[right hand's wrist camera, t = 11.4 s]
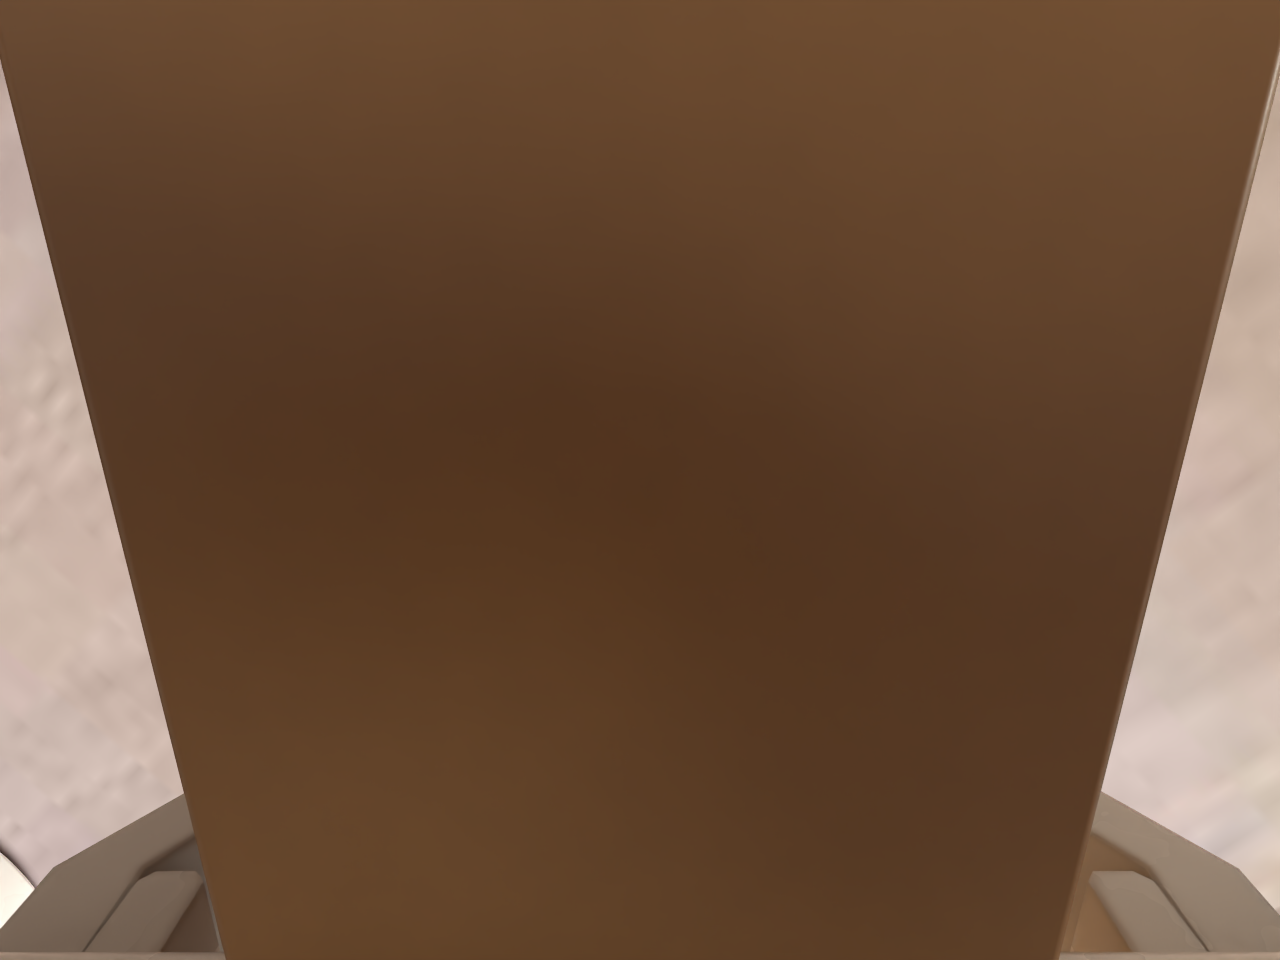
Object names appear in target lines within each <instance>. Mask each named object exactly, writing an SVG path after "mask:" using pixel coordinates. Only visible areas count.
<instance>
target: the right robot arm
mask: <svg viewBox="0 0 1280 960" xmlns="http://www.w3.org/2000/svg"><path fill="white" fill-rule="evenodd" d="M0 960H226V958H225V954H224V950H223V946H222V942H221V938H220V934H219V930H218V926H217V922H216V918H215V914H214V910H213V906H212V902H211V898H210V895H209V891H208V887H207V883H206V879H205V875H204V871H203V867H202V863H201V859H200V855H199V851H198V847H197V843H196V839H195V835H194V831H193V827H192V823H191V819H190V815H189V811H188V807H187V803H186V799H185V795H184V794H182V795H181V796H179V797H177V798H175V799H174V800H172V801H170V802H168V803H166V804H165V805H163V806H161V807H159V808H158V809H156V810H154V811H152V812H151V813H149V814H147V815H145V816H144V817H142V818H140V819H138V820H136V821H135V822H133V823H131V824H129V825H128V826H126V827H124V828H122V829H121V830H119V831H117V832H115V833H113V834H112V835H110V836H108V837H106V838H105V839H103V840H101V841H99V842H98V843H96V844H94V845H92V846H91V847H89V848H87V849H85V850H83V851H82V852H80V853H78V854H76V855H75V856H73V857H71V858H69V859H68V860H66V861H64V862H62V863H61V864H59V865H57V866H55V867H53V869H52V870H51V871H50V872H49V873H48V874H47V876H46V877H45V878H44V879H43V880H42V881H41V882H40V884H39V885H38V886H37V887H36V888H34V887H33V886H32V884H31V883H30V882H29V881H28V879H27V878H26V877H25V876H24V875H23V874H22V873H21V872H20V871H19V869H18V868H17V867H16V866H15V865H14V864H13V863H12V862H10V861H9V860H8V859H7V858H6V857H5V856H4V855H3V854H2V853H1V852H0ZM1059 960H1280V915H1279V914H1278V913H1277V912H1276V911H1275V910H1274V908H1273V907H1272V906H1271V905H1270V904H1269V903H1268V902H1267V900H1266V899H1265V898H1264V897H1263V896H1262V895H1261V894H1260V892H1259V891H1258V890H1257V889H1256V888H1255V887H1254V886H1253V884H1252V883H1251V882H1250V881H1249V880H1248V879H1247V878H1246V876H1245V875H1244V874H1243V873H1242V872H1241V871H1240V870H1239V869H1238V868H1236V867H1235V866H1233V865H1231V864H1229V863H1228V862H1226V861H1224V860H1222V859H1220V858H1219V857H1217V856H1215V855H1213V854H1212V853H1210V852H1208V851H1206V850H1204V849H1203V848H1201V847H1199V846H1197V845H1196V844H1194V843H1192V842H1190V841H1188V840H1187V839H1185V838H1183V837H1181V836H1180V835H1178V834H1176V833H1174V832H1172V831H1171V830H1169V829H1167V828H1165V827H1164V826H1162V825H1160V824H1158V823H1157V822H1155V821H1153V820H1151V819H1149V818H1148V817H1146V816H1144V815H1142V814H1141V813H1139V812H1137V811H1135V810H1133V809H1132V808H1130V807H1128V806H1126V805H1125V804H1123V803H1121V802H1119V801H1117V800H1116V799H1114V798H1112V797H1110V796H1109V795H1107V794H1105V793H1103V792H1100V796H1099V800H1098V804H1097V808H1096V812H1095V816H1094V820H1093V824H1092V828H1091V832H1090V836H1089V840H1088V844H1087V848H1086V852H1085V856H1084V860H1083V864H1082V868H1081V872H1080V876H1079V880H1078V884H1077V888H1076V892H1075V896H1074V900H1073V904H1072V908H1071V912H1070V916H1069V920H1068V924H1067V928H1066V932H1065V936H1064V940H1063V944H1062V948H1061V952H1060V956H1059Z"/></svg>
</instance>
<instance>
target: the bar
mask: <svg viewBox="0 0 1280 960" xmlns="http://www.w3.org/2000/svg"><path fill="white" fill-rule="evenodd" d="M0 60H1V64H2V68H3V72H4V76H5V80H6V84H7V88H8V92H9V96H10V100H11V104H12V108H13V112H14V116H15V120H16V124H17V128H18V132H19V136H20V140H21V143H22V147H23V151H24V155H25V159H26V163H27V167H28V171H29V175H30V179H31V183H32V187H33V191H34V195H35V199H36V203H37V207H38V211H39V215H40V219H41V223H42V227H43V231H44V235H45V239H46V243H47V247H48V251H49V255H50V259H51V263H52V267H53V271H54V275H55V279H56V283H57V287H58V291H59V295H60V299H61V303H62V307H63V311H64V315H65V319H66V323H67V327H68V331H69V335H70V339H71V343H72V347H73V351H74V355H75V359H76V363H77V367H78V371H79V375H80V379H81V383H82V387H83V391H84V395H85V399H86V403H87V407H88V411H89V415H90V419H91V423H92V427H93V431H94V435H95V439H96V443H97V447H98V451H99V455H100V459H101V463H102V467H103V471H104V475H105V479H106V483H107V487H108V491H109V495H110V499H111V503H112V507H113V511H114V515H115V519H116V523H117V527H118V531H119V535H120V539H121V543H122V547H123V551H124V555H125V559H126V563H127V567H128V571H129V575H130V579H131V583H132V587H133V591H134V595H135V599H136V603H137V607H138V611H139V615H140V619H141V623H142V627H143V631H144V635H145V639H146V643H147V647H148V651H149V655H150V659H151V663H152V667H153V671H154V675H155V679H156V683H157V687H158V691H159V695H160V699H161V703H162V707H163V711H164V715H165V719H166V723H167V727H168V731H169V735H170V739H171V743H172V747H173V751H174V755H175V759H176V763H177V767H178V771H179V775H180V779H181V783H182V787H183V791H184V795H185V799H186V803H187V807H188V811H189V815H190V819H191V823H192V827H193V831H194V835H195V839H196V843H197V847H198V851H199V855H200V859H201V863H202V867H203V871H204V875H205V879H206V883H207V887H208V891H209V895H210V898H211V902H212V906H213V910H214V914H215V918H216V922H217V926H218V930H219V934H220V938H221V942H222V946H223V950H224V954H225V958H226V960H1059V956H1060V952H1061V948H1062V944H1063V940H1064V936H1065V932H1066V928H1067V924H1068V920H1069V916H1070V912H1071V908H1072V904H1073V900H1074V896H1075V892H1076V888H1077V884H1078V880H1079V876H1080V872H1081V868H1082V864H1083V860H1084V856H1085V852H1086V848H1087V844H1088V840H1089V836H1090V832H1091V828H1092V824H1093V820H1094V816H1095V812H1096V808H1097V804H1098V800H1099V796H1100V792H1101V788H1102V784H1103V780H1104V776H1105V772H1106V768H1107V764H1108V760H1109V756H1110V752H1111V748H1112V744H1113V740H1114V736H1115V732H1116V728H1117V724H1118V720H1119V716H1120V712H1121V708H1122V704H1123V700H1124V696H1125V692H1126V688H1127V684H1128V680H1129V676H1130V672H1131V668H1132V664H1133V660H1134V656H1135V652H1136V648H1137V644H1138V640H1139V636H1140V632H1141V628H1142V624H1143V620H1144V616H1145V612H1146V608H1147V604H1148V600H1149V596H1150V592H1151V588H1152V584H1153V580H1154V576H1155V572H1156V568H1157V564H1158V560H1159V556H1160V552H1161V548H1162V544H1163V540H1164V536H1165V532H1166V528H1167V524H1168V520H1169V516H1170V512H1171V508H1172V504H1173V500H1174V496H1175V492H1176V488H1177V484H1178V480H1179V476H1180V472H1181V468H1182V464H1183V460H1184V456H1185V452H1186V448H1187V444H1188V440H1189V436H1190V432H1191V428H1192V424H1193V420H1194V416H1195V412H1196V408H1197V404H1198V400H1199V396H1200V392H1201V388H1202V384H1203V380H1204V376H1205V372H1206V368H1207V364H1208V360H1209V356H1210V352H1211V348H1212V344H1213V340H1214V336H1215V332H1216V328H1217V324H1218V320H1219V316H1220V312H1221V308H1222V304H1223V300H1224V296H1225V292H1226V288H1227V284H1228V280H1229V276H1230V272H1231V268H1232V264H1233V260H1234V256H1235V252H1236V248H1237V244H1238V240H1239V236H1240V232H1241V228H1242V224H1243V220H1244V216H1245V212H1246V208H1247V204H1248V199H1249V195H1250V191H1251V187H1252V183H1253V179H1254V175H1255V171H1256V167H1257V163H1258V159H1259V155H1260V151H1261V147H1262V143H1263V139H1264V135H1265V131H1266V127H1267V123H1268V119H1269V115H1270V111H1271V107H1272V103H1273V99H1274V95H1275V91H1276V87H1277V83H1278V79H1279V75H1280V0H0Z"/></svg>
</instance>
